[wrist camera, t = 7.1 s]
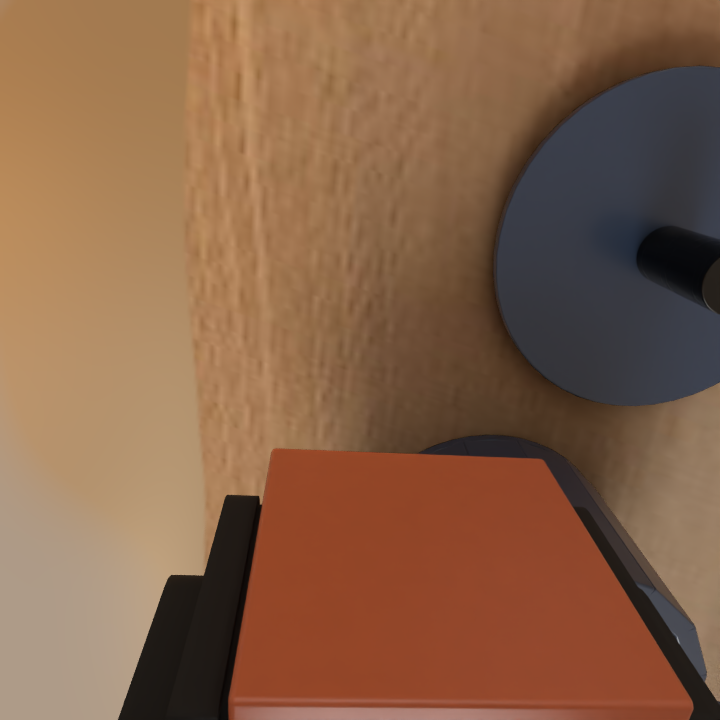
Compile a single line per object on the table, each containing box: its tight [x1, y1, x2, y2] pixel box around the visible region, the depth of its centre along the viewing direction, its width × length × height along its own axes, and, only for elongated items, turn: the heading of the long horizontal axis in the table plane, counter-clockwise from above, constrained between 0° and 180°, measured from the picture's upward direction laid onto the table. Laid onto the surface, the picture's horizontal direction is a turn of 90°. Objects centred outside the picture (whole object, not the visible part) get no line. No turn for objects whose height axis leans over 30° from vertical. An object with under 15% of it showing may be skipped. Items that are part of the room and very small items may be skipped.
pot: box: [418, 435, 720, 705], centre depth 27 cm, size 13×19×10 cm
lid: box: [493, 66, 720, 406], centre depth 23 cm, size 14×14×6 cm
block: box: [228, 449, 693, 720], centre depth 9 cm, size 4×4×4 cm
